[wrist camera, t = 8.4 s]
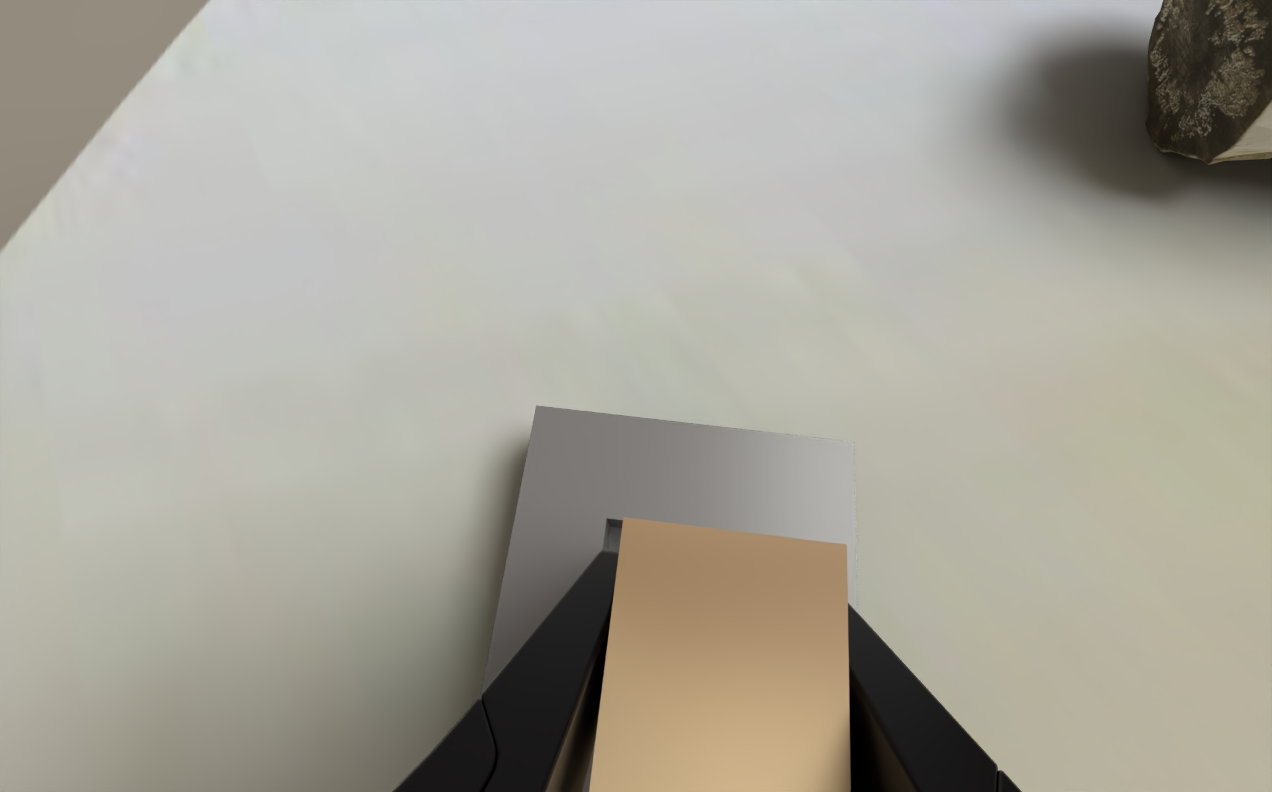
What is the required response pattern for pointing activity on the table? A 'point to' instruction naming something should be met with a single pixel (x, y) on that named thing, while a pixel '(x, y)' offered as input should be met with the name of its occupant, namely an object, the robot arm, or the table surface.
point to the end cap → (657, 501)
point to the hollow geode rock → (1211, 79)
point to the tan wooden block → (725, 664)
